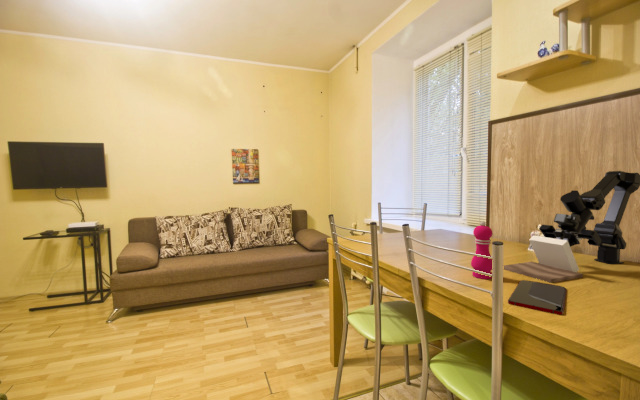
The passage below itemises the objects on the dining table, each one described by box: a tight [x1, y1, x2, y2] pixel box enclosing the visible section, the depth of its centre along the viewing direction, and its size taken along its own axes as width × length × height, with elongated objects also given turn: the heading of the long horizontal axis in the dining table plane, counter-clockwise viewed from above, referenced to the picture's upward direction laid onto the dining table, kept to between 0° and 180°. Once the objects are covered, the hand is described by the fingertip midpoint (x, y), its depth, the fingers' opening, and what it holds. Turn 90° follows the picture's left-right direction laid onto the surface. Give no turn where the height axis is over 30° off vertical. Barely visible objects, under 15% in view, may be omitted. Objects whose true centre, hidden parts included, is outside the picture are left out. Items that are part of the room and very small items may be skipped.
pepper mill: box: [470, 220, 493, 280], centre depth 107 cm, size 7×7×20 cm
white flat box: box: [528, 235, 580, 273], centre depth 112 cm, size 3×12×13 cm
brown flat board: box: [503, 261, 584, 284], centre depth 111 cm, size 16×18×1 cm
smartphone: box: [507, 279, 567, 316], centre depth 89 cm, size 12×2×25 cm
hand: (557, 250), depth 113 cm, fingers closed
